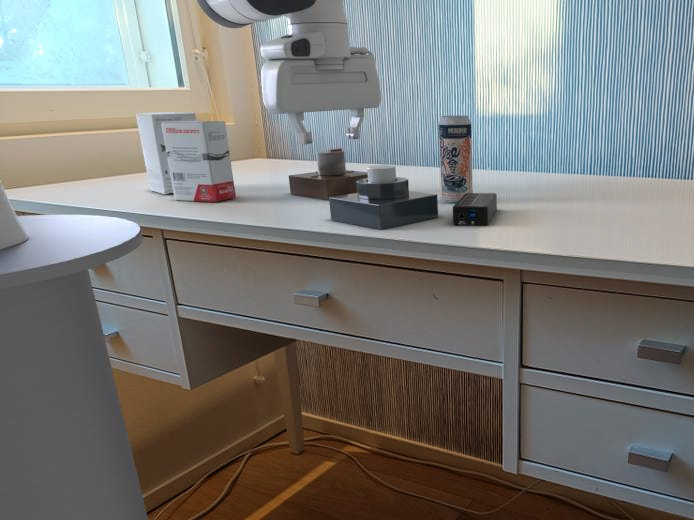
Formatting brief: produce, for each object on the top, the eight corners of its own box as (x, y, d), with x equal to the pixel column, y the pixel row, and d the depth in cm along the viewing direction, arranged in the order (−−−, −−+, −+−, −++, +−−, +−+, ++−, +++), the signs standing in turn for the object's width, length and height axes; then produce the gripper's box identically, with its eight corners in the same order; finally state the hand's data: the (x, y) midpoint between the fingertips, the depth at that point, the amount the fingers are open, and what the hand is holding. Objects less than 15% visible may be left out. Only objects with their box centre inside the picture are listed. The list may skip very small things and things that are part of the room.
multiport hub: (497, 209, 95) (497, 192, 94) (487, 225, 85) (487, 206, 84) (465, 209, 96) (465, 192, 95) (452, 225, 86) (451, 206, 85)
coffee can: (437, 203, 101) (434, 117, 96) (445, 198, 105) (442, 115, 101) (469, 203, 100) (467, 116, 96) (475, 198, 104) (474, 115, 100)
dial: (329, 176, 108) (327, 151, 107) (313, 174, 111) (310, 150, 109) (351, 173, 111) (349, 149, 110) (335, 171, 114) (332, 147, 112)
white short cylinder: (380, 186, 86) (379, 169, 86) (362, 183, 89) (361, 167, 88) (402, 182, 89) (401, 166, 88) (383, 180, 91) (382, 164, 90)
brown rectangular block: (327, 200, 106) (325, 179, 104) (290, 194, 112) (288, 174, 111) (377, 191, 112) (376, 172, 111) (339, 186, 119) (338, 168, 117)
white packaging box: (164, 195, 113) (149, 113, 108) (149, 190, 118) (134, 112, 113) (208, 190, 118) (196, 112, 113) (192, 186, 123) (179, 111, 118)
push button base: (380, 229, 84) (377, 188, 82) (330, 220, 90) (327, 181, 88) (438, 217, 91) (437, 178, 89) (388, 209, 97) (385, 173, 95)
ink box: (237, 197, 109) (226, 119, 105) (215, 202, 105) (202, 121, 100) (196, 195, 112) (183, 119, 108) (173, 200, 108) (158, 121, 103)
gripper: (360, 47, 113) (367, 135, 118) (250, 46, 99) (263, 146, 104) (386, 46, 109) (392, 137, 114) (274, 44, 95) (287, 148, 100)
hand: (330, 141), depth 109 cm, fingers open, 8 cm apart
